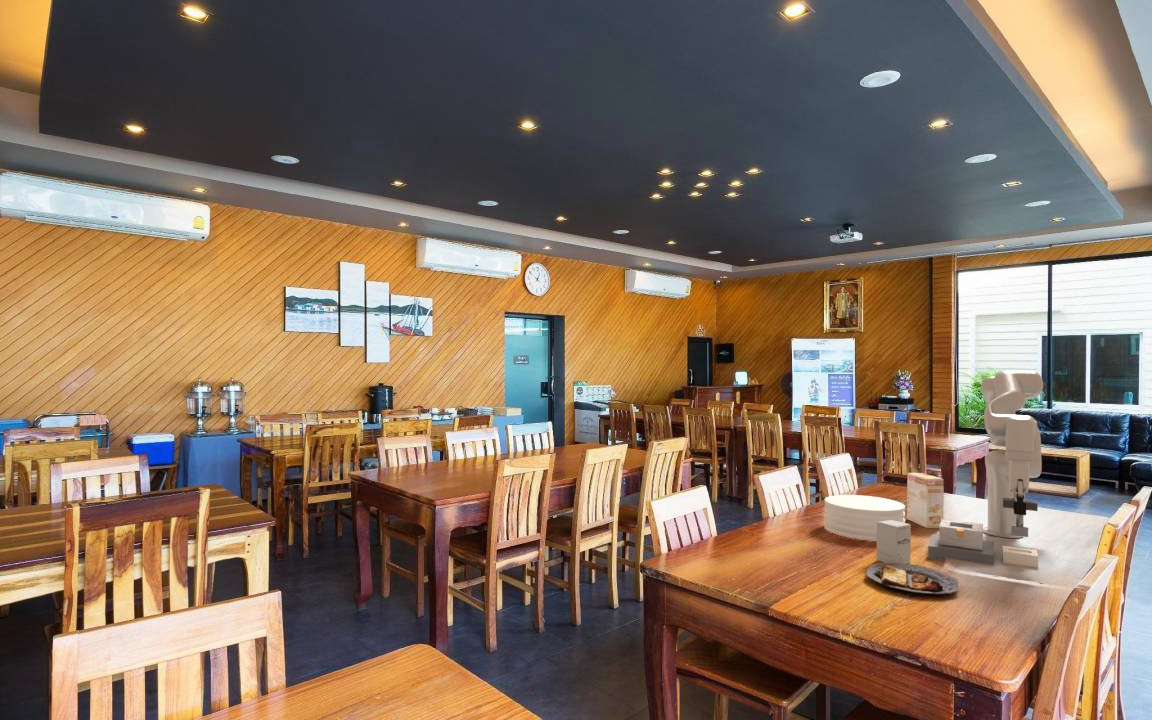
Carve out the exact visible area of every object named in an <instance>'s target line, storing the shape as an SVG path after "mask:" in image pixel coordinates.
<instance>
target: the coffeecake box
mask: <svg viewBox="0 0 1152 720" xmlns="http://www.w3.org/2000/svg"><path fill="white" fill-rule="evenodd" d="M906 476H907V477H906V478H907V479H906V482H907V485H906V487H907V488H906V489H907V490H906V494H907V499H906V500H907V501H906V508H907V510H906V514H907V516H906V518H907V520H909V521H911V522H913V523H915V524H917V525H919V526H921V527H924V528H926V529H939V526H940V523H941V520H942V519H944V507H945V506H944V491H945V490H944V486H945V485H944V483H945V482H944V480H945V479H944V478H941V477H938V476H935V475H930V474H927V473H925V472H907V475H906Z"/></svg>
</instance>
